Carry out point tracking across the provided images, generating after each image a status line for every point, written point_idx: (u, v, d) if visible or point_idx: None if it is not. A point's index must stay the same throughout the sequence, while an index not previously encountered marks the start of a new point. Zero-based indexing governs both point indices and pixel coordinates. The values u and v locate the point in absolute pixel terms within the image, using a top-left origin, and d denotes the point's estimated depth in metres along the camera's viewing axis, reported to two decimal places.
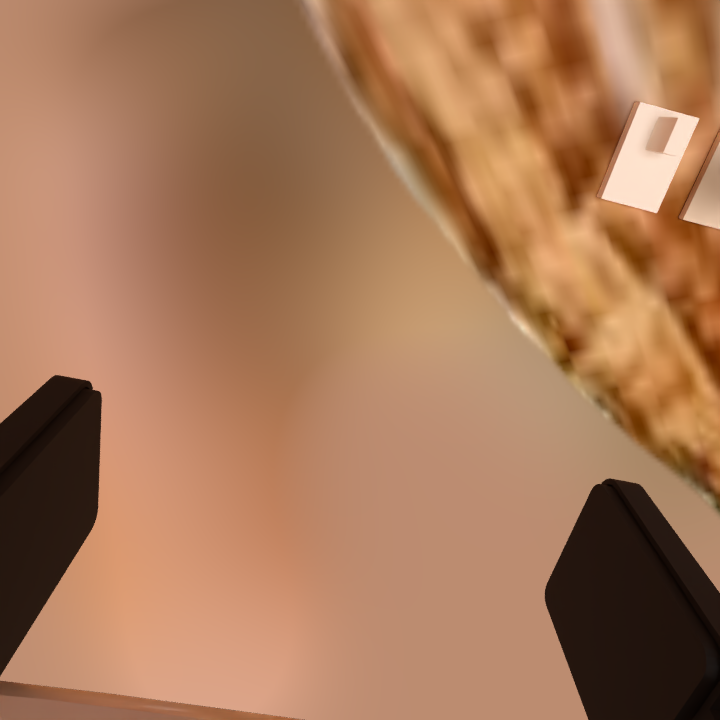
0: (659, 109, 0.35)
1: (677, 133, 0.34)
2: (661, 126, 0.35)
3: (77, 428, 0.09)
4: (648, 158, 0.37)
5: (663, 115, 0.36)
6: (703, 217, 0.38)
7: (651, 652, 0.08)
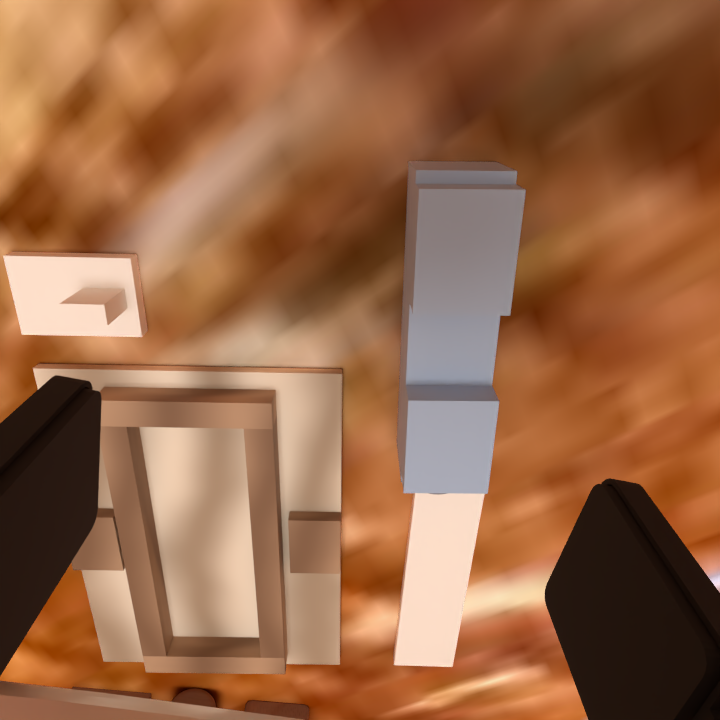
0: (132, 285, 0.27)
1: (87, 311, 0.25)
2: (106, 293, 0.27)
3: (77, 428, 0.09)
4: None
5: (127, 293, 0.28)
6: None
7: (651, 652, 0.08)
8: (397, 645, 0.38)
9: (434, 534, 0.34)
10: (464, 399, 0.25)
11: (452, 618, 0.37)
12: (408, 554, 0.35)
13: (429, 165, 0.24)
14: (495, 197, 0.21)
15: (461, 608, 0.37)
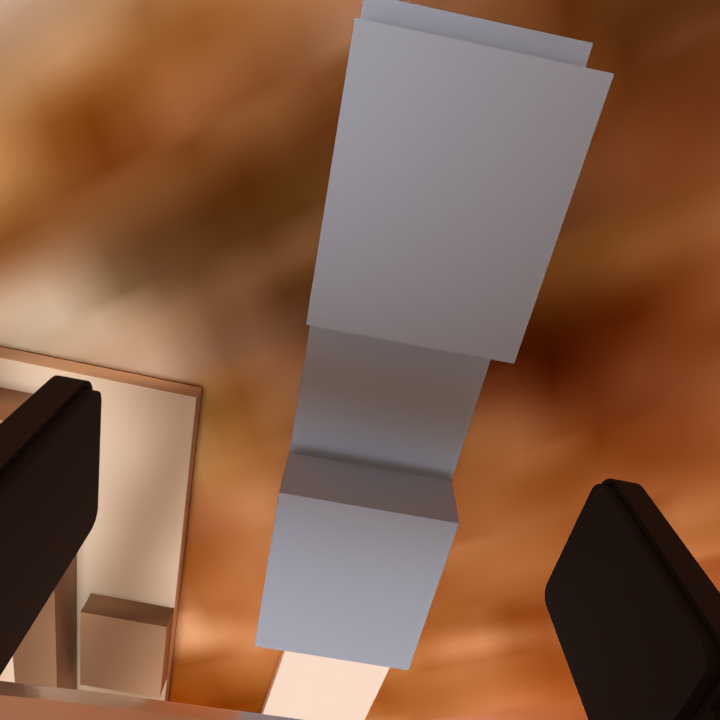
0: None
1: None
2: None
3: (77, 428, 0.09)
4: None
5: None
6: None
7: (651, 652, 0.08)
8: None
9: (321, 662, 0.22)
10: (390, 507, 0.13)
11: None
12: (275, 681, 0.22)
13: None
14: (537, 79, 0.09)
15: None
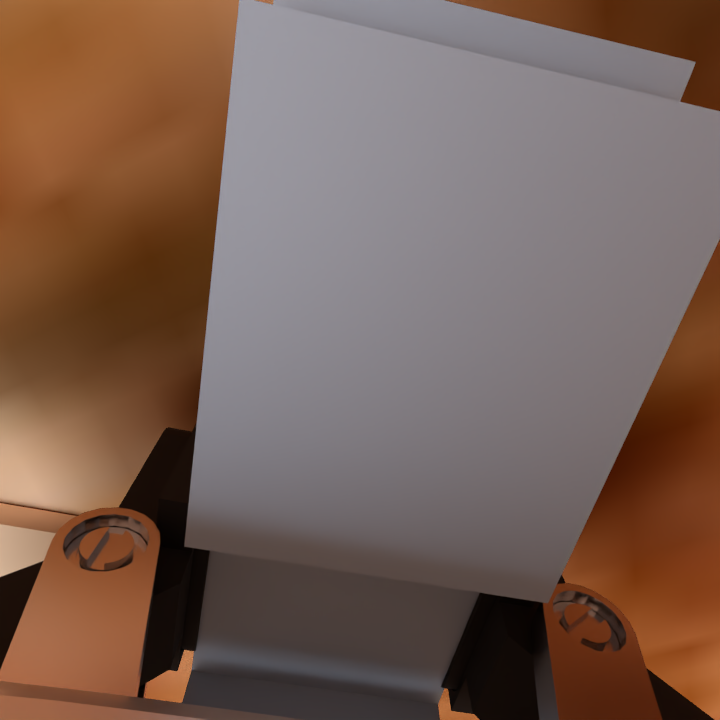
0: None
1: None
2: None
3: None
4: None
5: None
6: None
7: None
8: None
9: None
10: None
11: None
12: None
13: None
14: (618, 132, 0.04)
15: None
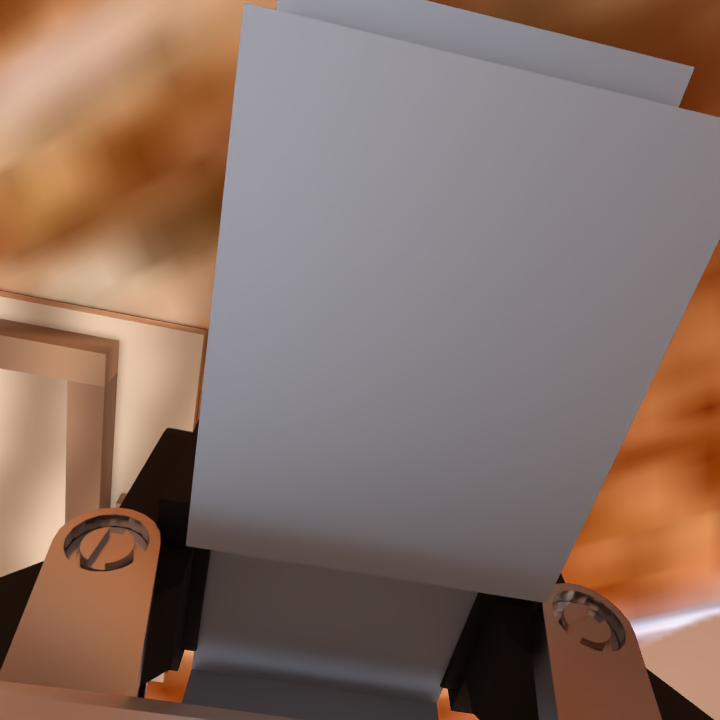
0: None
1: None
2: None
3: None
4: None
5: None
6: None
7: None
8: None
9: None
10: None
11: None
12: None
13: None
14: (618, 138, 0.04)
15: None
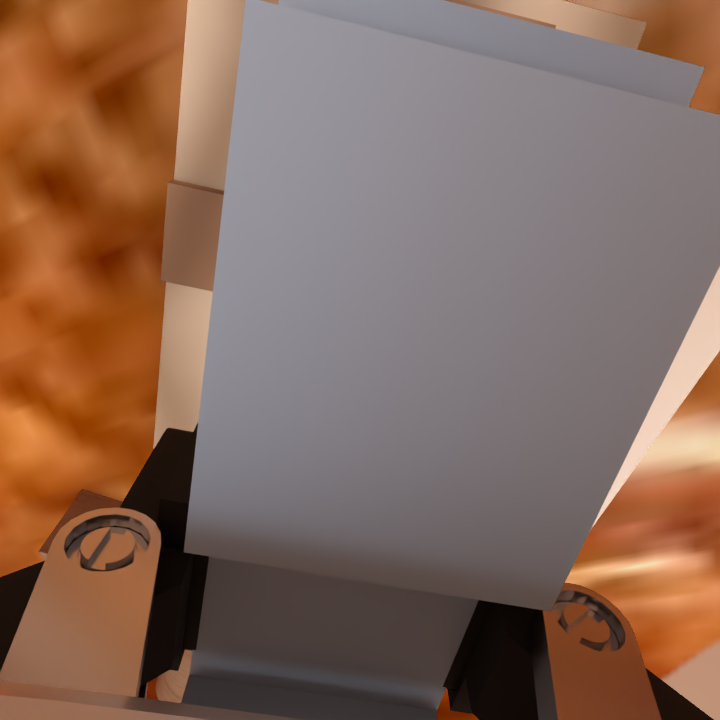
0: None
1: None
2: None
3: None
4: None
5: None
6: None
7: None
8: None
9: None
10: None
11: (627, 461, 0.28)
12: None
13: None
14: (629, 138, 0.04)
15: (645, 450, 0.28)
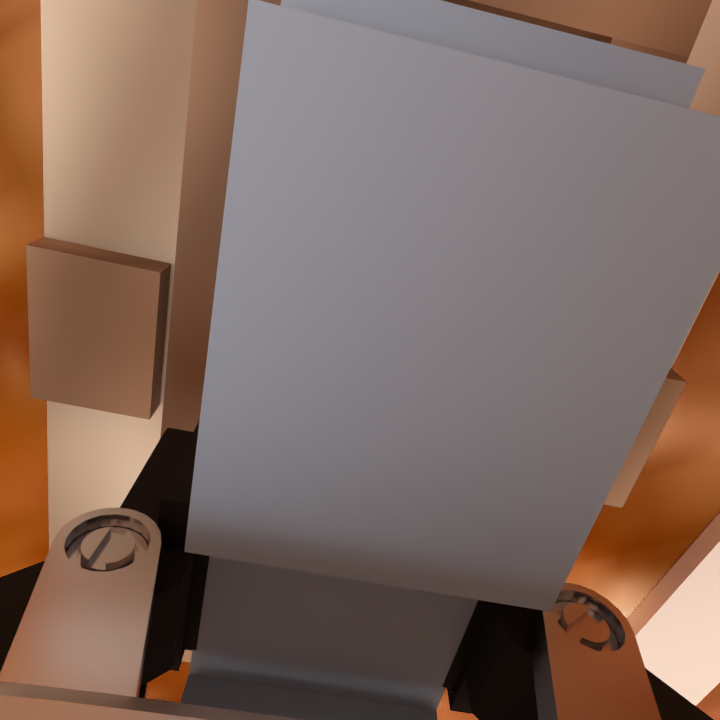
0: None
1: None
2: None
3: None
4: None
5: None
6: None
7: None
8: None
9: None
10: None
11: None
12: None
13: None
14: (630, 140, 0.04)
15: None
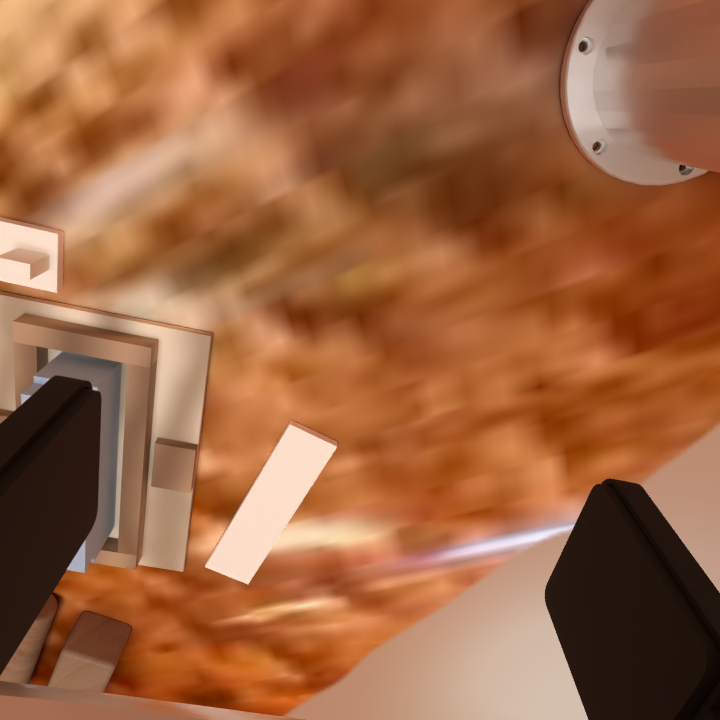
0: (55, 253, 0.37)
1: (16, 266, 0.35)
2: (34, 256, 0.36)
3: (77, 428, 0.09)
4: None
5: (51, 258, 0.37)
6: None
7: (651, 652, 0.08)
8: (214, 552, 0.47)
9: (280, 476, 0.44)
10: None
11: (264, 545, 0.47)
12: (254, 484, 0.44)
13: (59, 365, 0.38)
14: None
15: (274, 540, 0.47)
